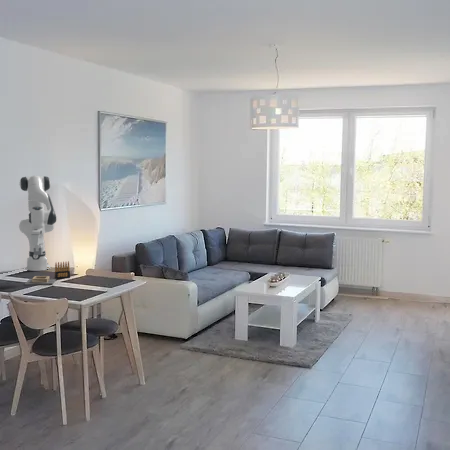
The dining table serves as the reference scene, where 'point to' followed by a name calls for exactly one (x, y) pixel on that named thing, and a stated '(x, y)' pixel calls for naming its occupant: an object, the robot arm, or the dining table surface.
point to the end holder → (40, 280)
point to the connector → (38, 251)
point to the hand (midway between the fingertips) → (38, 250)
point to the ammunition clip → (62, 270)
